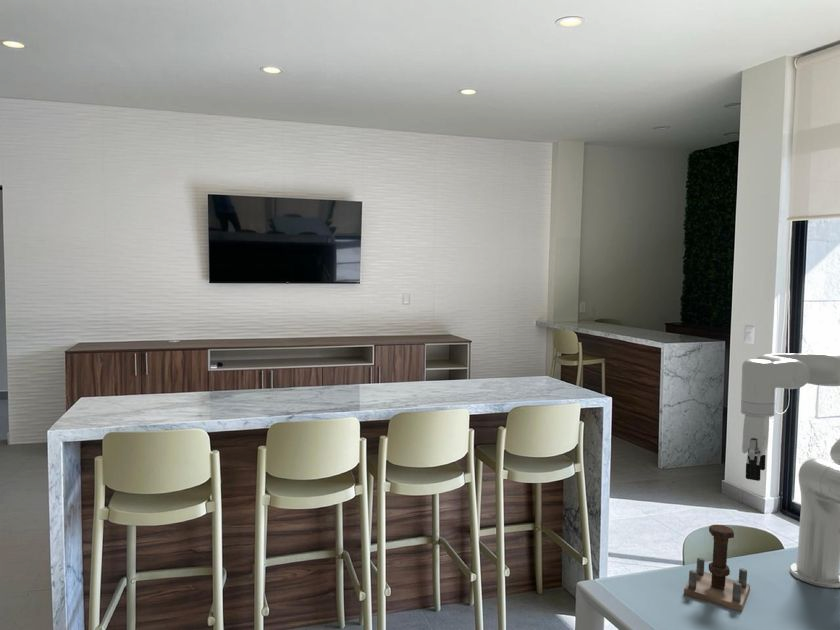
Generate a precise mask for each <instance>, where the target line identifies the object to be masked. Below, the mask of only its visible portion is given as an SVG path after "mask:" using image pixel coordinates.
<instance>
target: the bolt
mask: <svg viewBox="0 0 840 630" xmlns="http://www.w3.org/2000/svg"><path fill="white" fill-rule="evenodd" d="M708 527H709V528H708V532H709V533H710V534H711V536H712V537H713V547H712V548H713V549H712V561H711V562H710V563H708V571H709V572H710V574H712V577H711V578H712V580H711V584H712V586H713V587H715V588H720V589H721V588H724V587H725V580H726V578H727V577H728V576H730V575H731V574H730V573H731V570H730V567H729V565H727V564H728V563H727V560H728V559H727V558H728V547H729V545H728V544H729V539H734V537H735V532H734V530H733V528H731V527H729V526H727V525H723V524H711V525H710V526H708Z"/></svg>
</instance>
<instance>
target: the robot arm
mask: <svg viewBox="0 0 840 630" xmlns="http://www.w3.org/2000/svg"><path fill="white" fill-rule="evenodd" d="M741 366H742V367H741V390H740V391H741V392H740V393H741V395H740V396H741V397H740V414H742V415H744V417H743V429H742V444H741V446H742V447H741V452H742V454H746V453H747V456H746V462H745V479H746V480H749V481H757V482H759V481H760V480H761V471H765V469H766V451H767V448H768V442H769V432H770V431H769V430H770V429H769V426H770V418H771V417H774V416H775V409H776V408H775V406H776V405H775V403H776V402H775V401H776V389H777V388H779V389H787V390H795V389H800V388H802V387H804V386H806V385H807V384H809V385H813V386H821V387H822V386H824V387H840V353H767V354H766V353H765V354H761V355H759V356H757V357H756V358H750V359H745V360H743V362H742V365H741ZM829 454H830V458H831V460H832V461H830V460H828V459H823V458H810V459H808V460H806V461H804V462H803V463H802V464H801V465H800V467H799V471H798V483H799V489H800V490H799V491H800V516H799V529H798V530H799V531H798V544H797V545H798V546H797V558H796V559H797V561H796V562H794V563H792V564H790V566H789V572H790V574H791V575H792V576H793V577H795V578H796V579H798V580H800V581H802V582H804V583H807V584H810V585H811V586H812V585H813V586H816V587H821V588H828V589H829V588H831V589H835V588H836V589H838V588H839V589H840V438H839V439H837V440H836V441H835V443H834V444H833V445H832V447H831V448H830V452H829Z"/></svg>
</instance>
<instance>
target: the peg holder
mask: <svg viewBox="0 0 840 630" xmlns="http://www.w3.org/2000/svg"><path fill="white" fill-rule="evenodd" d="M705 560H706V559H704V558H703V557H697V558H696V569H695V570H693V569H691V570H689V571H688V581H687V583H686V584H685V586H684V588H683V595H684V596H687V597H691V598H694V599H698V600H701V601H704V602H707V603H711V604H715V605H718V606H722V607H725V608H728V609H731V610H734V611H738V612H743V609H744V606H745V604H746V601H747V599H748V596H749V593H750V591H751V584H750V583H747V580H748V570H747V569H745V568H739V571H738V580H735V579H731V578H727V577H726V580H725V587H724V588H721V589H720V588H715V587H713V586H712V584H711V580H712V578H711V577H712V573H709V572H707V571H706V572H705Z"/></svg>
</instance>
